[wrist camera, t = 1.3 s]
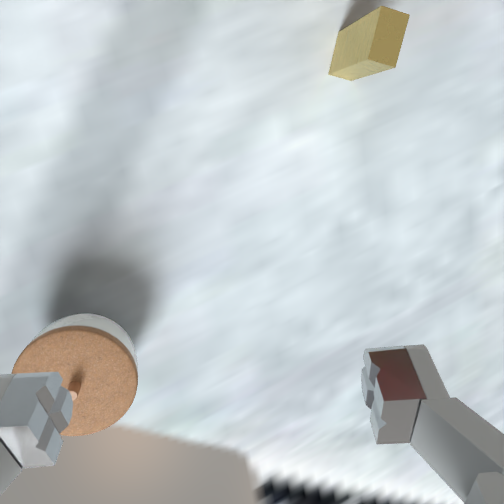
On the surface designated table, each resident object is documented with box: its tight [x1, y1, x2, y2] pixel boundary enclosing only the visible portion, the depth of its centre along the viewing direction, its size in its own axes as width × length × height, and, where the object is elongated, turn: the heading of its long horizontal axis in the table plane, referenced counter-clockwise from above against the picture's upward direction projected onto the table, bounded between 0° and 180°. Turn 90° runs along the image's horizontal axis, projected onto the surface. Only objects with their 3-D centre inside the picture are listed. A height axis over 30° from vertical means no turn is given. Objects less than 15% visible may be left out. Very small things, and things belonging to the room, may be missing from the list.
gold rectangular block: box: [328, 6, 409, 81], centre depth 39 cm, size 4×2×9 cm, turn 168°
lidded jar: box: [12, 313, 138, 436], centre depth 41 cm, size 11×11×9 cm
